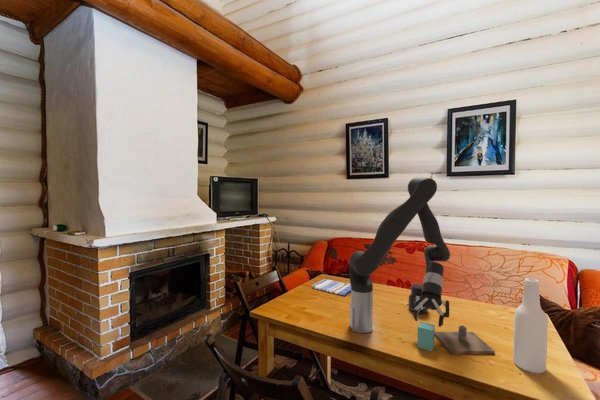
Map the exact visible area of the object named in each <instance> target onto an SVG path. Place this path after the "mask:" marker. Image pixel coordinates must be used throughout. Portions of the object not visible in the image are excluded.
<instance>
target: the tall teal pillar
mask: <svg viewBox="0 0 600 400" xmlns="http://www.w3.org/2000/svg"><path fill="white" fill-rule="evenodd" d="M435 330H436V329H435V324H432V323H427V322H423V321H419V324H418V326H417V348H418V349H421V350H425V351H429V352H433V351H434V347H435V338H436V337H435V332H436V331H435Z"/></svg>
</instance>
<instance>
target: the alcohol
mask: <svg viewBox="0 0 600 400" xmlns="http://www.w3.org/2000/svg"><path fill="white" fill-rule="evenodd" d="M523 284H524V288H523V295H522V302H521V304H520V305H519V306H517V308H516V309H515V311H514V319H513V320H514V321H513V322H514V324H513V325H514V326H513V352H512V353H513V355H512V356H513V357H512V359H513V362H514V364H515V365H516V366H517V367H518V368H520V369H521V370H523V371H526V372H527V373H531V374H538V375H539V374H540V375H541V374H543V373H544V372H546V371H547V359H548V357H547V354H548V331H549V330H548V327H549V325H548V324H549V320H548V316H547V314H546V313H545V311H544V310H543V309H542V306H541V301H540V280H538V279H536V278H531V277H530V278H529V277H526V278H524V283H523Z"/></svg>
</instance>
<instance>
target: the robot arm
mask: <svg viewBox="0 0 600 400" xmlns="http://www.w3.org/2000/svg"><path fill="white" fill-rule="evenodd" d="M437 190H438V184H437V182H436V180H434V179H433V178H430V177H413V178H411V180H410V181H409V182H408V184H407V192H408V194H409V198H407V200H406V201H404V202H403V203H402V204H400V205H399V206H397V207H396V208H394V209H392V210H391V211H390V212H389V213H388V214H387V215H386V216H385V218H383V221H381V223H380V224H379V226H378V228H377V231H376V234H375V237H374V239H373V241H372V242H371V244H370V245H369V247H368V248H366V250H365V251H363V250H357V251H354V252H353V253H352V254H351V255H350V258H349V268H348V269H349V284H351V293H350V304H349V326H350V329H351V332H356V333H358V334H369V333H370V332H372V331H373V306H374V305H373V303H374V301H373V299H374V296H373V295H374V293H373V292H374V290H373V289H374V288H373V287H374V285H373V281H372V279H371V276H370V275H372V274H373V273H374V272H375V270H376V269H377V268H378V266H379V264H380V263H381V261H382V260H383V258H384V257H385V255H386V253H387V252H388V251H389V250H390V248H391V247H392V246H393V245H394V244H395V242H396V241H397V240H398V238H399V237H401V235H402V233H403V232H404V231H405V229H407V227H408V225H409V224H410V223H411V222H412V221H413V220H414V218H415V217H416V215H417V217H418V219H419V222H420V225H421V229H422V233H423V237H424V241H425V242H426V243H429V244H432V245H428V246H426V247H425V248H424V250H423V252H424V253H423V255H424V259H425V272H424V277H423V280H422V285H423V287H422V294H421V296H420V297H419V296H416V295H415V294H413V297H412V301H411V305H410V307H411V309H412V310H414V312H413V319H414V321H415V322H418V319H419V314H420V313H419V311H420V310H422V309H423V308H426V309H428V310H430V311H436V313H438V314H439V315H438V323H437V324H438V327H439V328H441V327H443V325H444V319H445V318H450V301H449V300H448V299H447V300H446V301H445V300H442V295H443V286H444V285H443V284H444V279H443V277H444V266H443V265H442V264H441V263H439V262H447V261H449V260H450V257H451V252H450V250H449V247H448V245H447V244H446V242H445V241H444V239H443V237H442V234H441V229H440V225H439V222H438V220H437V218H436V216H435V215H434V212H432V210H431V208H430V206H429V204H428V203H429V201H430V200H432V198H433V197H434V196H435V195H436V192H437ZM418 300H420V301H421V302H420V303H419V304H418V305H417V306H416V307H415V303H416V301H418ZM442 305H443V307H444V308H445V312H444V311H442V309H441V306H442Z"/></svg>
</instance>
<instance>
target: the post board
mask: <svg viewBox="0 0 600 400" xmlns="http://www.w3.org/2000/svg"><path fill="white" fill-rule="evenodd" d="M467 329H468V328H467V327H466V326H464V325H459V326H458V331H435V338H436V339H437V340H438V341H439V343H440V344H442V346H443V347H444V348H445V349H446V350H447V352H448V353H449V354H451V355H495V354H496V351H495V350H494V349H493V348H492V347H491V346H490V345H489V344H487V343H486V341H483V340H482V338H481V337H479V336H478V335H477V334H476V333H474V332H473V331H468V330H467Z"/></svg>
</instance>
